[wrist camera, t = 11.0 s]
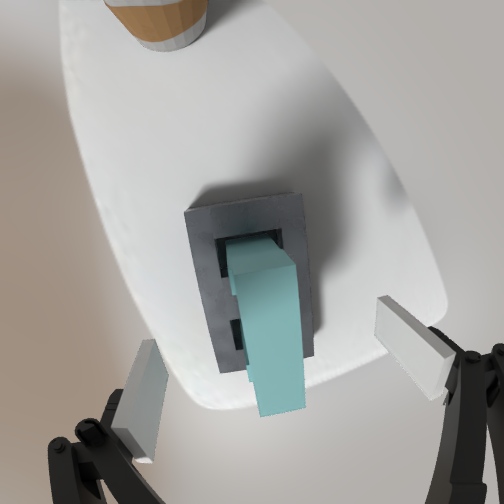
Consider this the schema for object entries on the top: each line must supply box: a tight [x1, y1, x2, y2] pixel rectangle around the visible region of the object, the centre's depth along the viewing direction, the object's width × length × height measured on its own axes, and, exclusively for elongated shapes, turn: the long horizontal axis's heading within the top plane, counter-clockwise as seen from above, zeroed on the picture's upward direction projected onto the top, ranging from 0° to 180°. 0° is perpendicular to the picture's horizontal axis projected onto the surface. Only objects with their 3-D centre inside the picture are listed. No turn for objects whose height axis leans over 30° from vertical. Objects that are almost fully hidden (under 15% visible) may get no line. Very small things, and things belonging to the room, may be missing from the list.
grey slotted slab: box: [184, 192, 314, 373], centre depth 24 cm, size 15×9×2 cm, turn 8°
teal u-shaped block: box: [226, 234, 306, 417], centre depth 20 cm, size 10×4×11 cm, turn 8°
